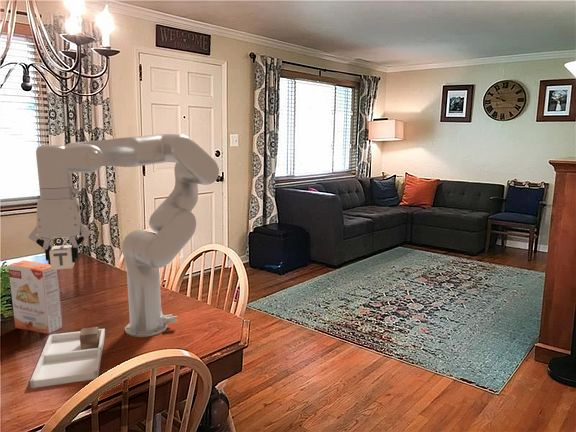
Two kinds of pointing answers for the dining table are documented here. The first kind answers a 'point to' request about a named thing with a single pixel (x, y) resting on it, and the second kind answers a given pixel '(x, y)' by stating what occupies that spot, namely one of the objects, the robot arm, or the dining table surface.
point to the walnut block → (89, 338)
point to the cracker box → (35, 297)
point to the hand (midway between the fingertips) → (62, 261)
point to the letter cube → (61, 257)
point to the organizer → (67, 360)
